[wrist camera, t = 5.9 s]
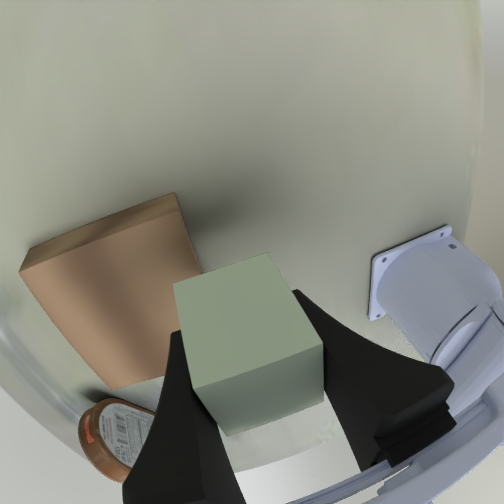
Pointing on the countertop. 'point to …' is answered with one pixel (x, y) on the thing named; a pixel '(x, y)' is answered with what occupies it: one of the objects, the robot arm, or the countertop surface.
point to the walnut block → (116, 288)
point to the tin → (114, 436)
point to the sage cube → (249, 345)
